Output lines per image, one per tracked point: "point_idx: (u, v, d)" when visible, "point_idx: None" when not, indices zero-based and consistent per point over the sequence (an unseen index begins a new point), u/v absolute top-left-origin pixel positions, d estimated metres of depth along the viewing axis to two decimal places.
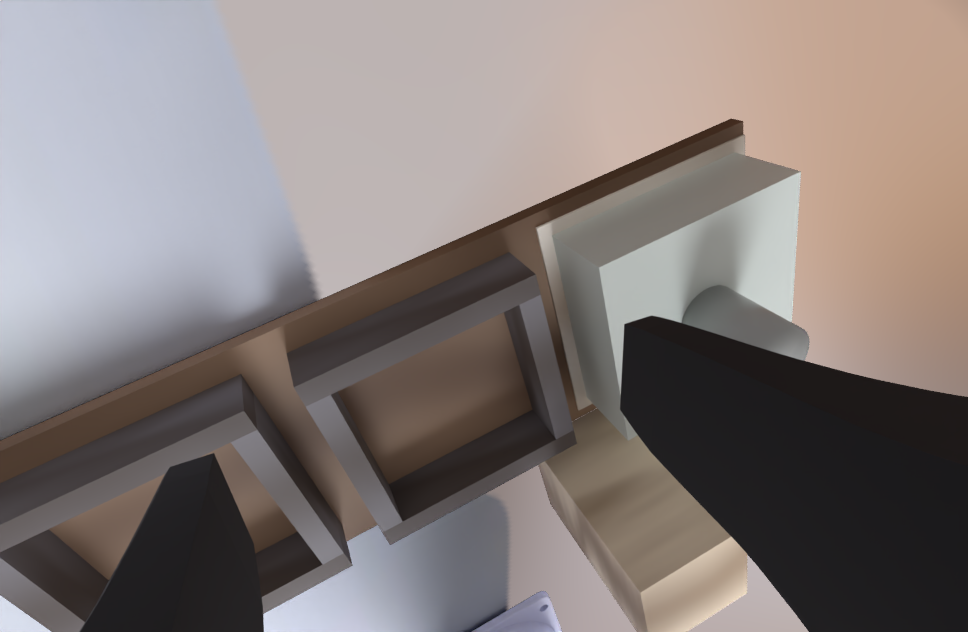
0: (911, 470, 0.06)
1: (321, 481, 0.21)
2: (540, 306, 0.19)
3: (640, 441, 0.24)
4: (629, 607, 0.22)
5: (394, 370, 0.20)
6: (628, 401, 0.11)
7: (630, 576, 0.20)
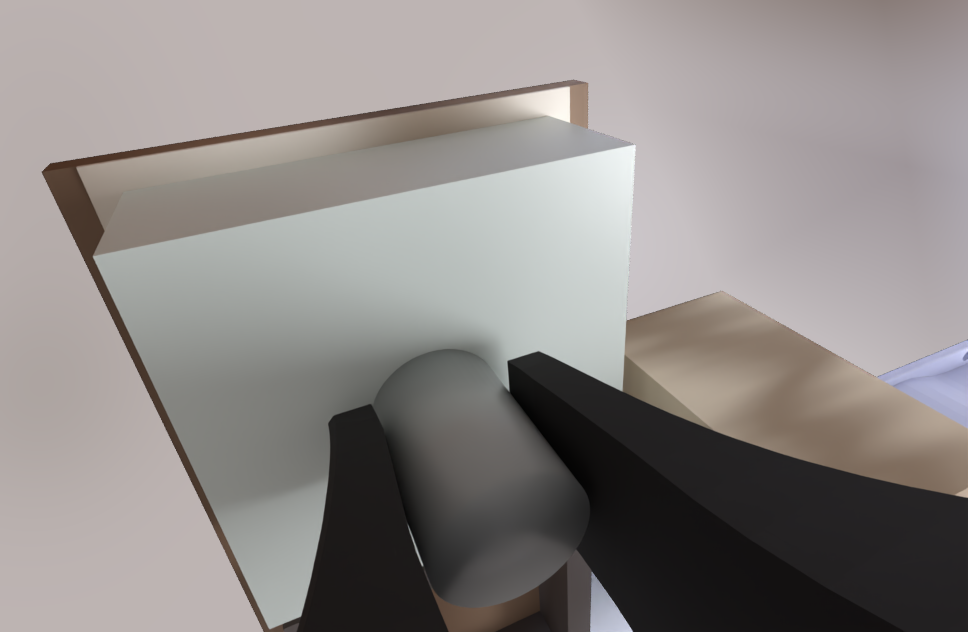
0: (737, 554, 0.05)
1: None
2: None
3: (655, 402, 0.14)
4: None
5: None
6: None
7: None
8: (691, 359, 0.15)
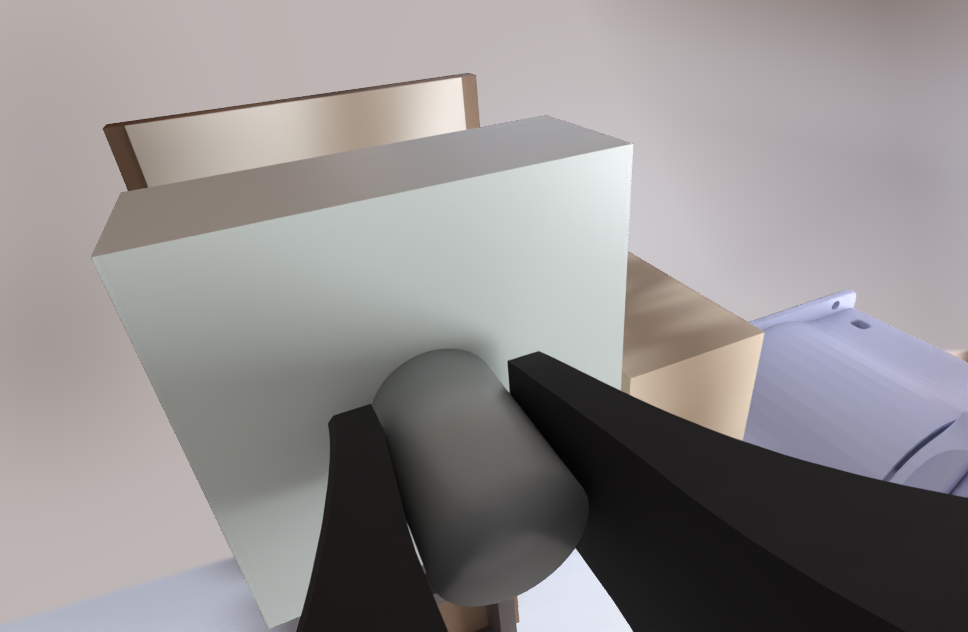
0: (737, 554, 0.05)
1: None
2: None
3: None
4: None
5: None
6: None
7: None
8: None
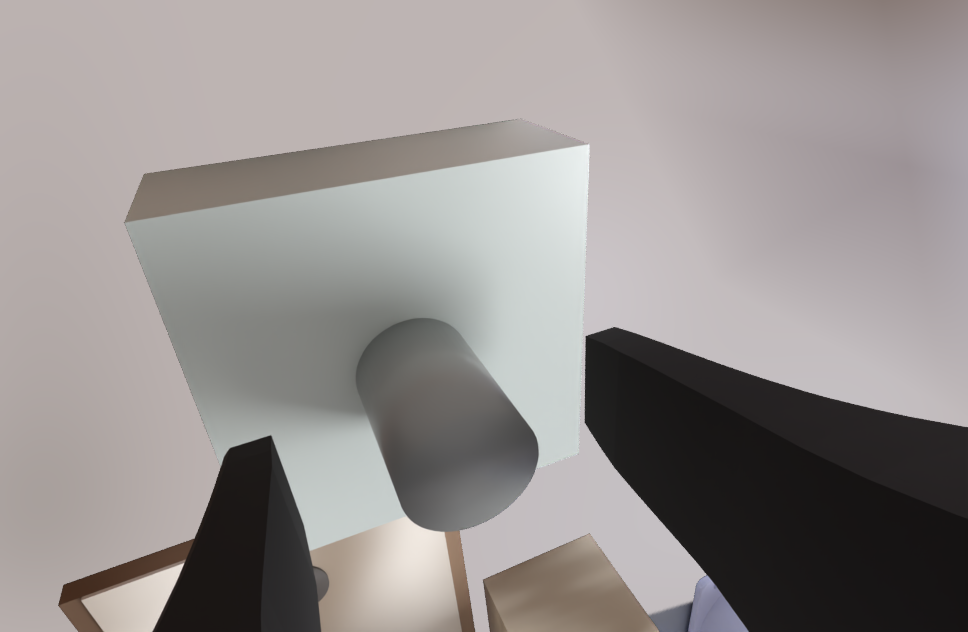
0: (854, 497, 0.06)
1: None
2: None
3: None
4: None
5: None
6: (592, 414, 0.11)
7: None
8: (546, 622, 0.19)
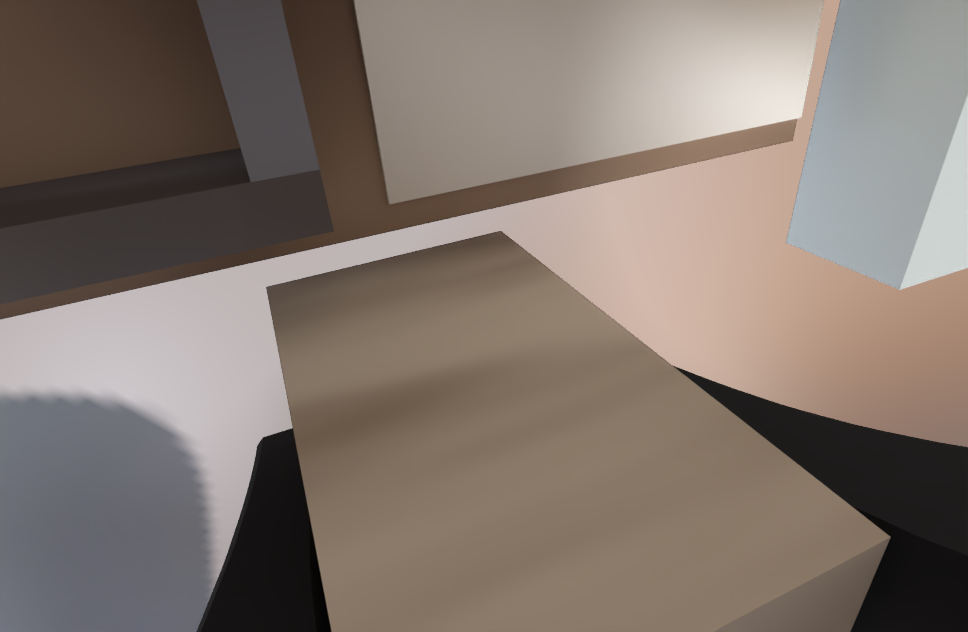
0: None
1: None
2: None
3: (535, 296, 0.09)
4: None
5: None
6: None
7: None
8: None
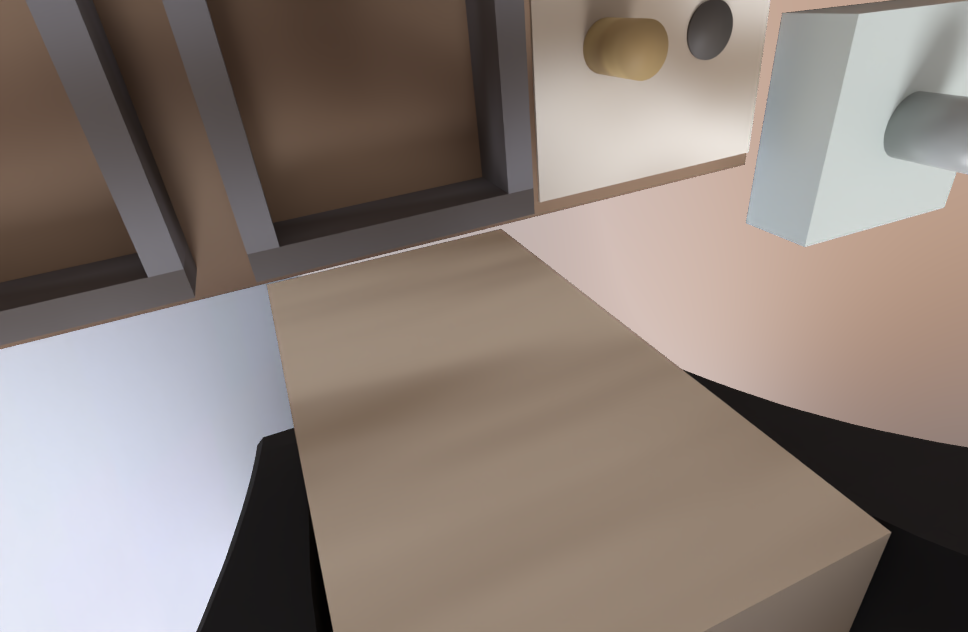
0: None
1: (172, 178, 0.15)
2: None
3: (535, 294, 0.09)
4: None
5: (301, 24, 0.14)
6: None
7: None
8: None
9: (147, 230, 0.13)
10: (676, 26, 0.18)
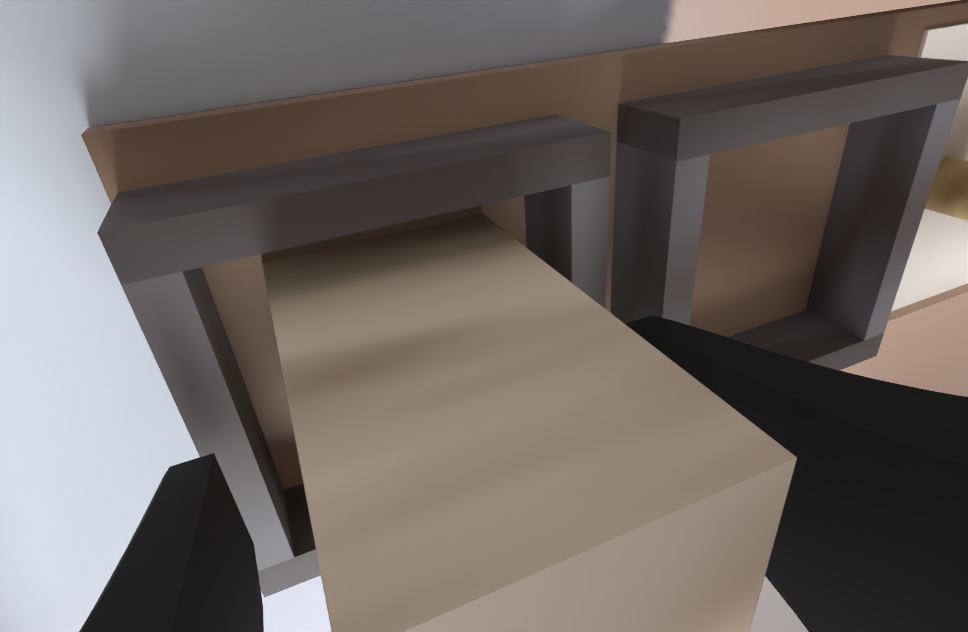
0: (909, 469, 0.06)
1: None
2: (951, 118, 0.13)
3: (508, 269, 0.10)
4: None
5: (710, 188, 0.14)
6: None
7: (330, 587, 0.05)
8: None
9: None
10: None
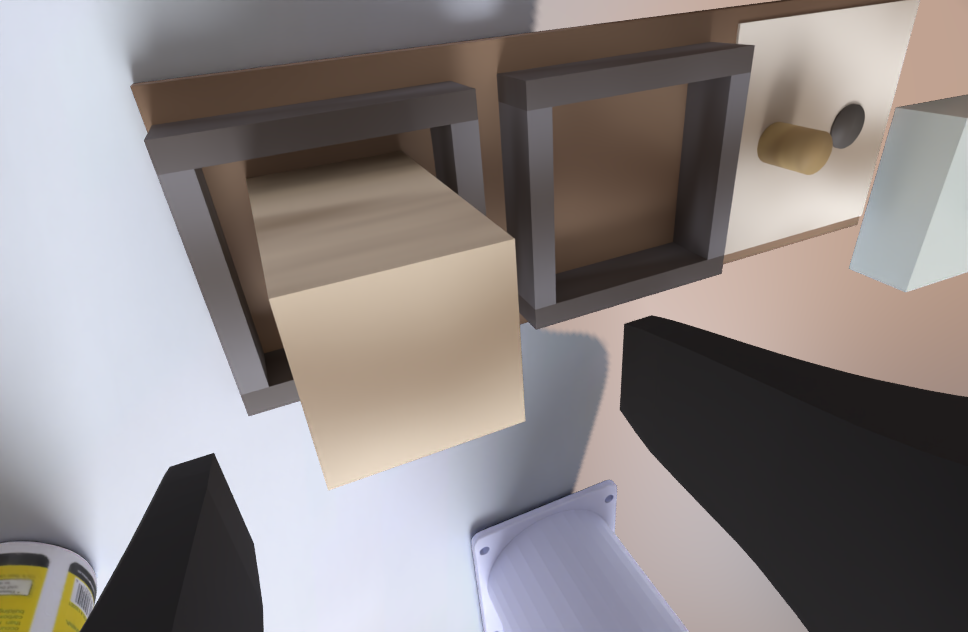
0: (909, 470, 0.06)
1: None
2: (746, 86, 0.19)
3: (405, 176, 0.15)
4: None
5: (577, 139, 0.19)
6: (628, 401, 0.11)
7: (268, 282, 0.10)
8: None
9: None
10: (823, 124, 0.23)
